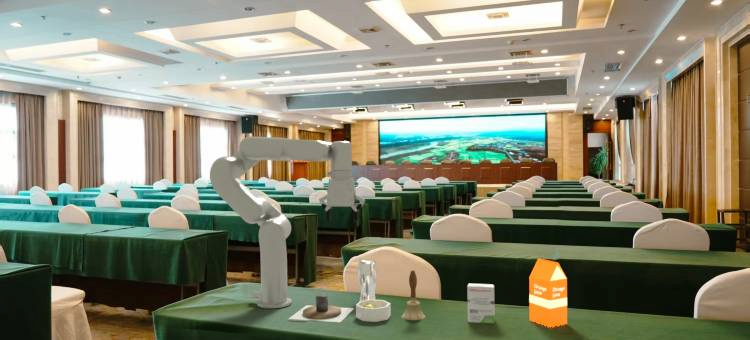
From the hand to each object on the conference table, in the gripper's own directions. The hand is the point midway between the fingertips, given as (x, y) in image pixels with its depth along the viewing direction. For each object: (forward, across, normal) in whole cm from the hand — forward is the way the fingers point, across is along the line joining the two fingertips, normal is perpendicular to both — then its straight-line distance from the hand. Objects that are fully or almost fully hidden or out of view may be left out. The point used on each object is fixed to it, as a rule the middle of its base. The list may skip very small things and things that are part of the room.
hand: (342, 221), depth 188 cm
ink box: (+31, +50, -9) cm, 59 cm away
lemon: (+30, +14, -14) cm, 35 cm away
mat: (+30, -3, -14) cm, 34 cm away
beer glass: (+31, +8, +5) cm, 32 cm away
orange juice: (+31, +71, -6) cm, 78 cm away
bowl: (+31, +15, -14) cm, 37 cm away
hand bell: (+31, +28, -11) cm, 43 cm away
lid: (+30, -3, -14) cm, 33 cm away
